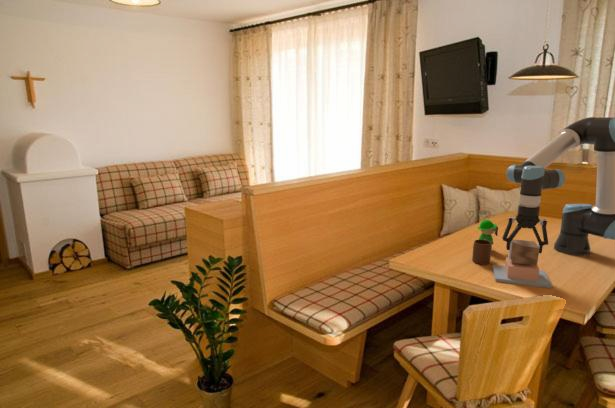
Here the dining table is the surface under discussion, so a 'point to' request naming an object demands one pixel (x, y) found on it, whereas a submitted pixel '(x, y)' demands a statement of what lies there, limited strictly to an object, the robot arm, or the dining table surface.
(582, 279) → the dining table surface
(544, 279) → the plate
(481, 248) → the mug
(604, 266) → the dining table surface
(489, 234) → the toy
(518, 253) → the walnut block
